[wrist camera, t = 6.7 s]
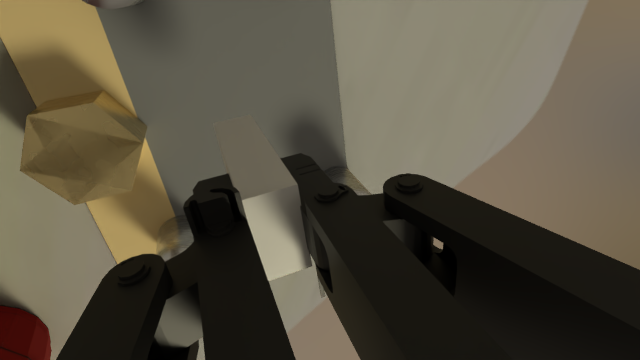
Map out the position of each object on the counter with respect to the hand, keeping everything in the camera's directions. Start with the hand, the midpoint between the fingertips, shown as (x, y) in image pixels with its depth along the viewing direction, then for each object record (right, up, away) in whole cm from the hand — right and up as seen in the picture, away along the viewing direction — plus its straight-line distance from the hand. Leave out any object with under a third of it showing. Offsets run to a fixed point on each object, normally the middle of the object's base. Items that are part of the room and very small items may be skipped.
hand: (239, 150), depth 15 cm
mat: (-2, +3, +5) cm, 6 cm away
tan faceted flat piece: (-8, +1, +3) cm, 9 cm away
